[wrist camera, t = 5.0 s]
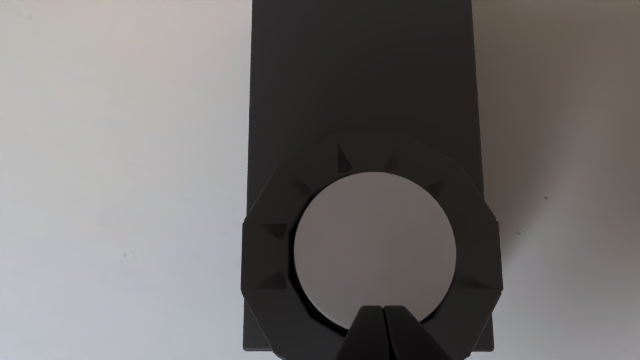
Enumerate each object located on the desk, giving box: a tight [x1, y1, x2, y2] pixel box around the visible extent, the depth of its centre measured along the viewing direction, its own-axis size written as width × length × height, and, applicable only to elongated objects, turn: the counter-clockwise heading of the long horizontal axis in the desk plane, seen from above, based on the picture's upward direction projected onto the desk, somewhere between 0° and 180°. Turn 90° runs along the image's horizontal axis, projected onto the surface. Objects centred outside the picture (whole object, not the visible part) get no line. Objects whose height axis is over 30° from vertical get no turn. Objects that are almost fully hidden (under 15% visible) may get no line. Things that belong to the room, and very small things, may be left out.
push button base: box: [241, 0, 503, 360], centre depth 18 cm, size 14×7×7 cm, turn 0°
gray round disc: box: [294, 172, 456, 329], centre depth 13 cm, size 4×4×2 cm
